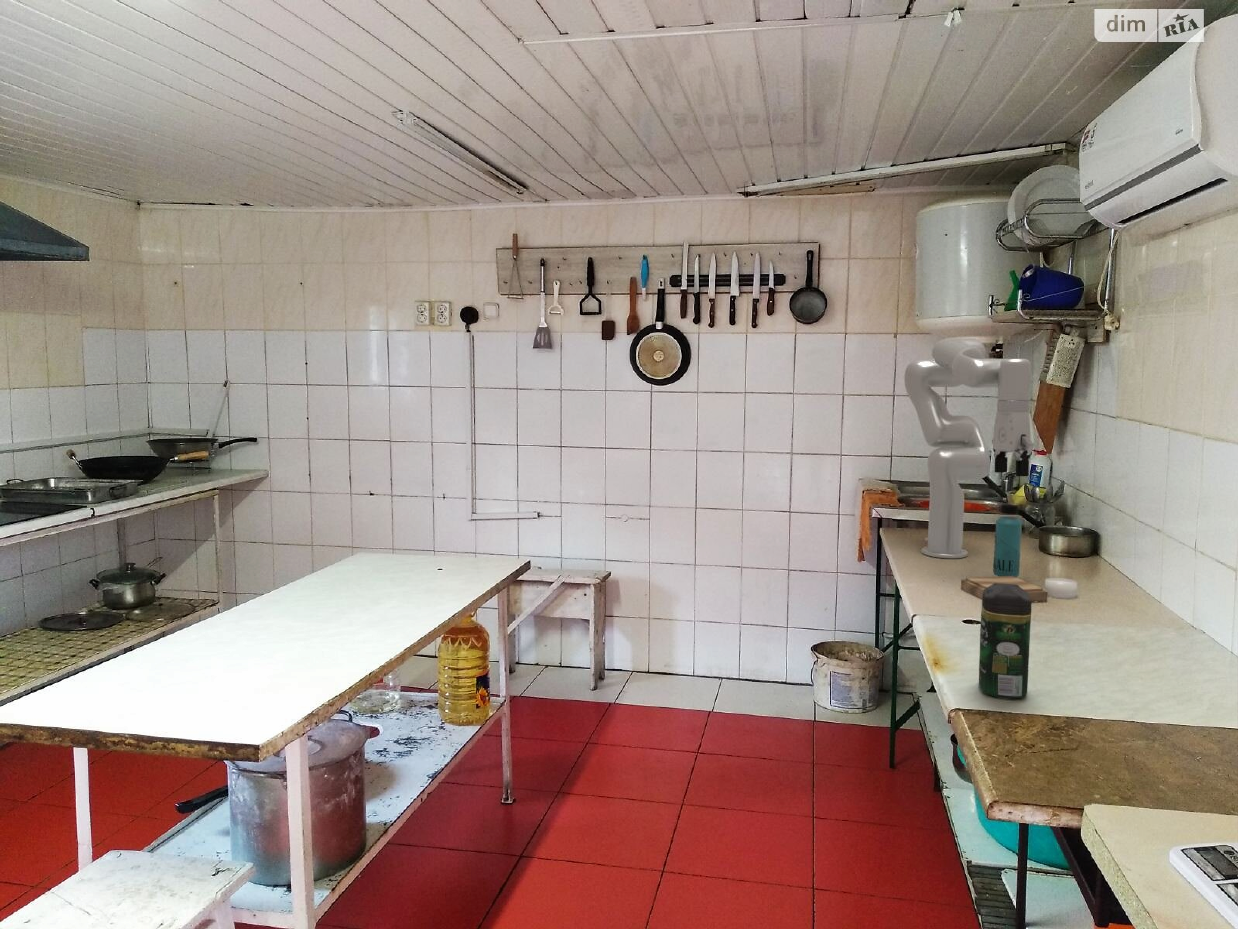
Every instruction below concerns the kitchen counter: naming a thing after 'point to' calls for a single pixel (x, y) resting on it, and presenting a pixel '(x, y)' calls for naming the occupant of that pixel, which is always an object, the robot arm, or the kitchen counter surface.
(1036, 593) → the riser
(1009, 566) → the beverage bottle
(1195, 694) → the kitchen counter surface
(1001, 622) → the coffee jar
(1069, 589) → the white soap bar
